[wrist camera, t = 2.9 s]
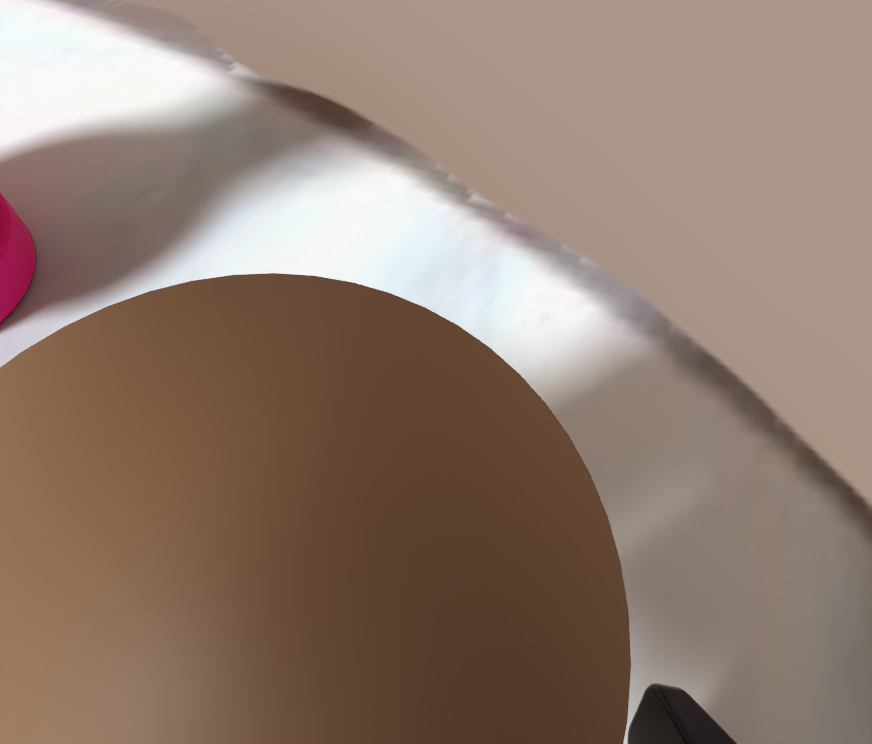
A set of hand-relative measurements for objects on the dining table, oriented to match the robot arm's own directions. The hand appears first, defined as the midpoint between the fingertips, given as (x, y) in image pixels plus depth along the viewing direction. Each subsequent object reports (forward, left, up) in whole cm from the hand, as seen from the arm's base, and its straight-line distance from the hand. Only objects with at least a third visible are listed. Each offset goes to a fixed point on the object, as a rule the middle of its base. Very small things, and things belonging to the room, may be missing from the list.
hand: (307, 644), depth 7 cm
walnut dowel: (0, 0, -8) cm, 8 cm away
